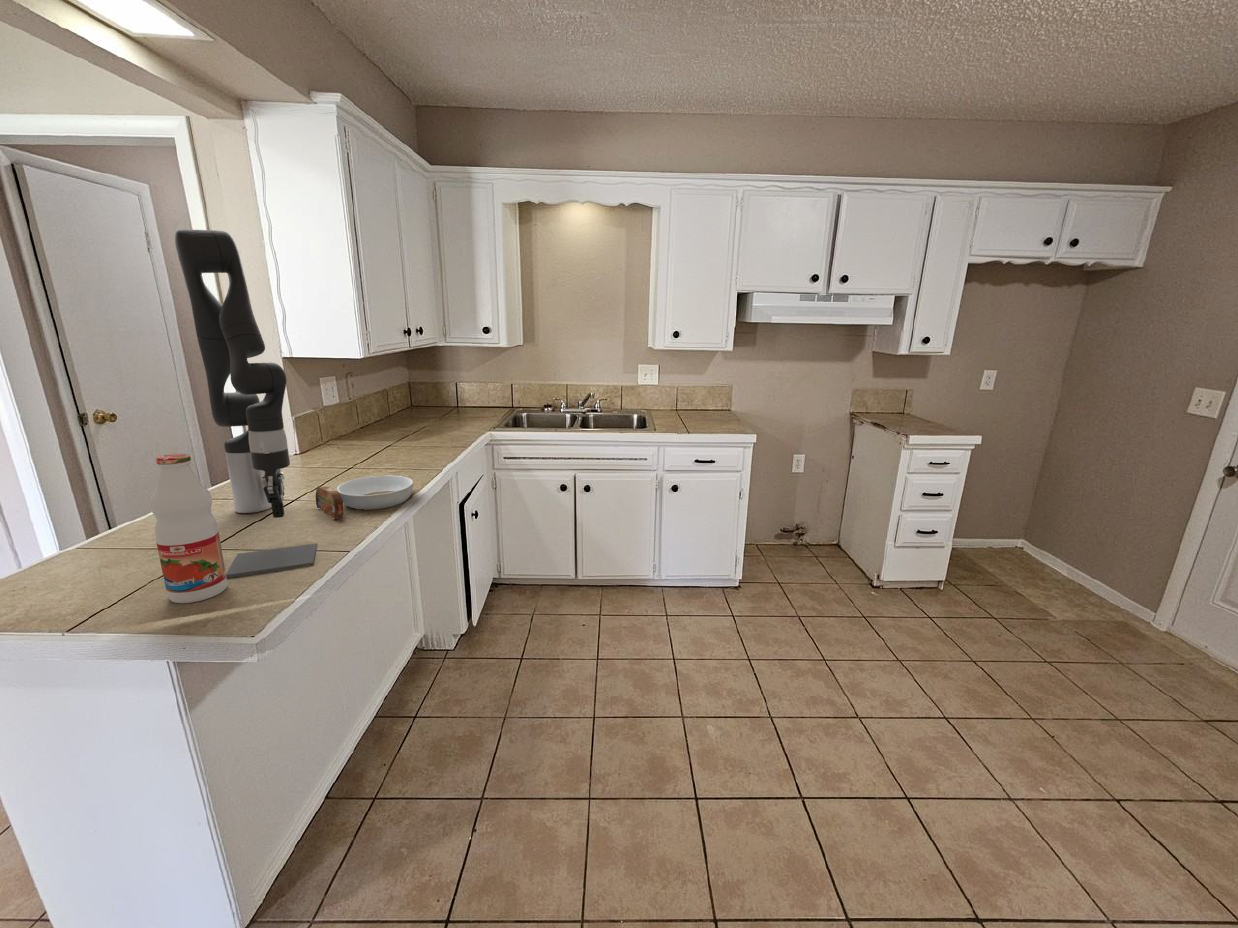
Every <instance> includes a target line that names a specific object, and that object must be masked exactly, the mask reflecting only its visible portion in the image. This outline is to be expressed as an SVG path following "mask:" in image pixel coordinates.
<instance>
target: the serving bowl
mask: <svg viewBox="0 0 1238 928" xmlns="http://www.w3.org/2000/svg"><path fill="white" fill-rule="evenodd" d="M413 489H414V481H413V479H412V478H410V477H406V476H402V475H401V476H400V475H388V474H387V475H373V476H364V477H359V478H354V479H351V480H348V481H345V482H343V483H341V484H339V485H338V486H337V488H336V491H337V492H339V493H340V494H341V496H342V499H343V505H345V506H347V507H349V508H351V509H354V508H355V509H356V510H361V509H364V511H366V510H380V509H385V508H391V507H395V506H397V505H399V504H402V503H404V502H406V501H407V500H408V499H409V498H410V497H411V495H412V493H413ZM380 492H387V493H380ZM373 493H380V494H373ZM368 494H369V495H368Z"/></svg>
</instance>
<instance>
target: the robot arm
mask: <svg viewBox="0 0 1238 928" xmlns="http://www.w3.org/2000/svg"><path fill="white" fill-rule="evenodd" d="M174 246H175V249H176V255H177V257H178V260H179V264H180V268H181V272H182V275H183V278H184V281H185V285H186V289H187V291H188V297H189V299H190V304H191V305H190V306H191V311H192V316H193V322H194V328H195V334H196V338H197V342H198V347H199V351H200V353H201V358H202V361H203V365H204V370H205V375H206V381H207V388H208V395H209V403H210V409H211V410H210V411H211V415H212V419H213V420H214V423H215V424H216V425H217V426H219V427H223V428H227V427H230V428H231V427H245V426H246V427H247V430H246V431H244V432H242V433H241V434H240V435H237V436H235V437H231V438H228V439H227V440H226V441H224V447H223V448H224V452H225V458H226V463H227V470H228V476H229V482H230V488H231V495H232V501H233V506H234V511H235V512H236V513H239V514H251V513H258V512H259V513H260V512H263V511H266V510H269V509H271V510H272V517H273V518H274V519H278V518H279V519H280V518H284V516H285V508H284V496H285V483H284V481H285V474H284V473H285V472H282V471H281V469H285V468H287V467H289V466H290V465H291V462H290V454H289V447H288V439H287V435H286V431H285V426H284V420H283V405H284V397H285V391H286V386H287V374H286V372H285V371H284V369H283V368H282V366H281V365H279V364H278V363H276V362H251V363H249V361H248V359H249V358H250V359H251V358H254V357H257V356H259V355H262V354H263V353H264V352H265V351H266V346H265V342H264V339H263V336H262V334H261V331H260V328H259V326H258V324H257V321H256V317H255V315H254V311H253V308H252V304H251V299H250V294H249V289H248V285H247V280H246V277H245V272H244V269H243V264H242V260H241V257H240V253H239V250H238V247H237V244H236V242H235V240H234V238H233V237H232V236H231V234H229V232H227V231H223V230H217V229H216V230H213V229H212V230H211V229H191V228H190V229H189V228H187V229H186V228H185V229H183V228H182V229H180V228H179V229H178V230H176V231H175V233H174ZM202 274H227V277H228V289H227V293H226V296H225V299H224V300H223V303H222V302H220V301H219V300H218V299H217V297H216V296H215V295H214V294H213V293H212V292H211V291H210V289H209V288H208V287H207V286H206V283H205V282H204V279H203V276H202ZM229 376H230V381H231V385H232V387H233V388H234V389H235V390H236V392H224V391H225V386H226V383H227V382H228V379H229ZM261 394H264V398H263V400H261V401H260V398H259V396H258V395H261Z"/></svg>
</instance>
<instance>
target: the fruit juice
mask: <svg viewBox="0 0 1238 928" xmlns="http://www.w3.org/2000/svg"><path fill="white" fill-rule="evenodd" d="M155 460H156V461H155V462H156V466H157V467H158V468H159V475H158V479H157V482H156V483H157V484H156V487H155V489H154V491H153V493H152V495H151V497H150V500H149V509H150V511H151V513H152V515H153V517H154V518H155V520H156V521H155V525H154V538H155V542H156V543H155V544H156V547H157V548H156V549H157V552H158V558H159V562H160V563H159V564H160V566H161V567H160V568H161V573H162V576H163V577H162V578H163V581H164V587H165V591H166V595H167V598H168V600H169V601H170V602H172V603H175V604H190V603H191V604H192V603H197V602H201V601H205V600H209V599H211V598H214V597H216V596H218V595H220V594H221V593H223V592H224V591H225V590H226V589H227V587H228V578H227V577H226V573H227V571H226V567H225V561H224V555H223V549H222V543H221V537H220V531H219V526H218V522H217V519H216V517H215V515H214V514H213V513H212V505H213V497H212V494H211V491H210V490H209V489H208V488H206V486H205V485H203V484H202V483H201V482H200V480H199V478H198V477H197V476H196V474H195V472H194V471H193V469H192V467H191V465H190V464H191V463H192V459H191V455H190V454H189V453H171V454H169V453H168V454H163V455H159V456H156V459H155Z"/></svg>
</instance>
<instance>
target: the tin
mask: <svg viewBox="0 0 1238 928" xmlns="http://www.w3.org/2000/svg"><path fill="white" fill-rule="evenodd" d="M315 503H316V509H317V508H320V509H321V510H320V509H319V510H320V511H322V512H323V511H324V512H323V513H325V514H326V513H327V514H328V516H329V517H330V516H331V517H330V518H331V519H332V520H333V521H335V519H336V520H340V519H343V518H344V503H343V499H342V496H341V494H340V493H339V492H337V489H336V490H335V489H334V488H332V487H330V486H321V487H320V486H319V487H317V489H316V490H315ZM327 514H326V515H327ZM342 517H343V518H342ZM333 518H334V519H333ZM339 518H340V519H339Z"/></svg>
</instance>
